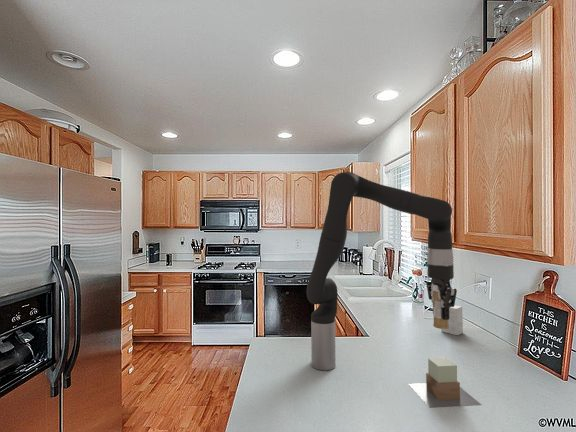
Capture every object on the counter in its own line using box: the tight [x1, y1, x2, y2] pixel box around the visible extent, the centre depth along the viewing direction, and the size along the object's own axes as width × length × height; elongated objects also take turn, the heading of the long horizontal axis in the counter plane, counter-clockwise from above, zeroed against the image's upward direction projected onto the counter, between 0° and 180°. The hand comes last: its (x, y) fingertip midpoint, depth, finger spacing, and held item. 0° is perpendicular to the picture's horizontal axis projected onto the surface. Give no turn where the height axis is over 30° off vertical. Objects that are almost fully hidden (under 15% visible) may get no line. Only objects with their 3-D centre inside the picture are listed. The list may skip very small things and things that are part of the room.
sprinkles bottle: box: [432, 284, 449, 330], centre depth 103 cm, size 5×5×14 cm
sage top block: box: [427, 357, 458, 383], centre depth 103 cm, size 6×6×5 cm
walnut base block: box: [425, 372, 461, 400], centre depth 103 cm, size 7×7×5 cm
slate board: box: [408, 382, 482, 409], centre depth 103 cm, size 14×16×1 cm
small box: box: [440, 305, 464, 336], centre depth 163 cm, size 8×6×13 cm
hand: (441, 316), depth 103 cm, fingers closed on sprinkles bottle, 4 cm apart
